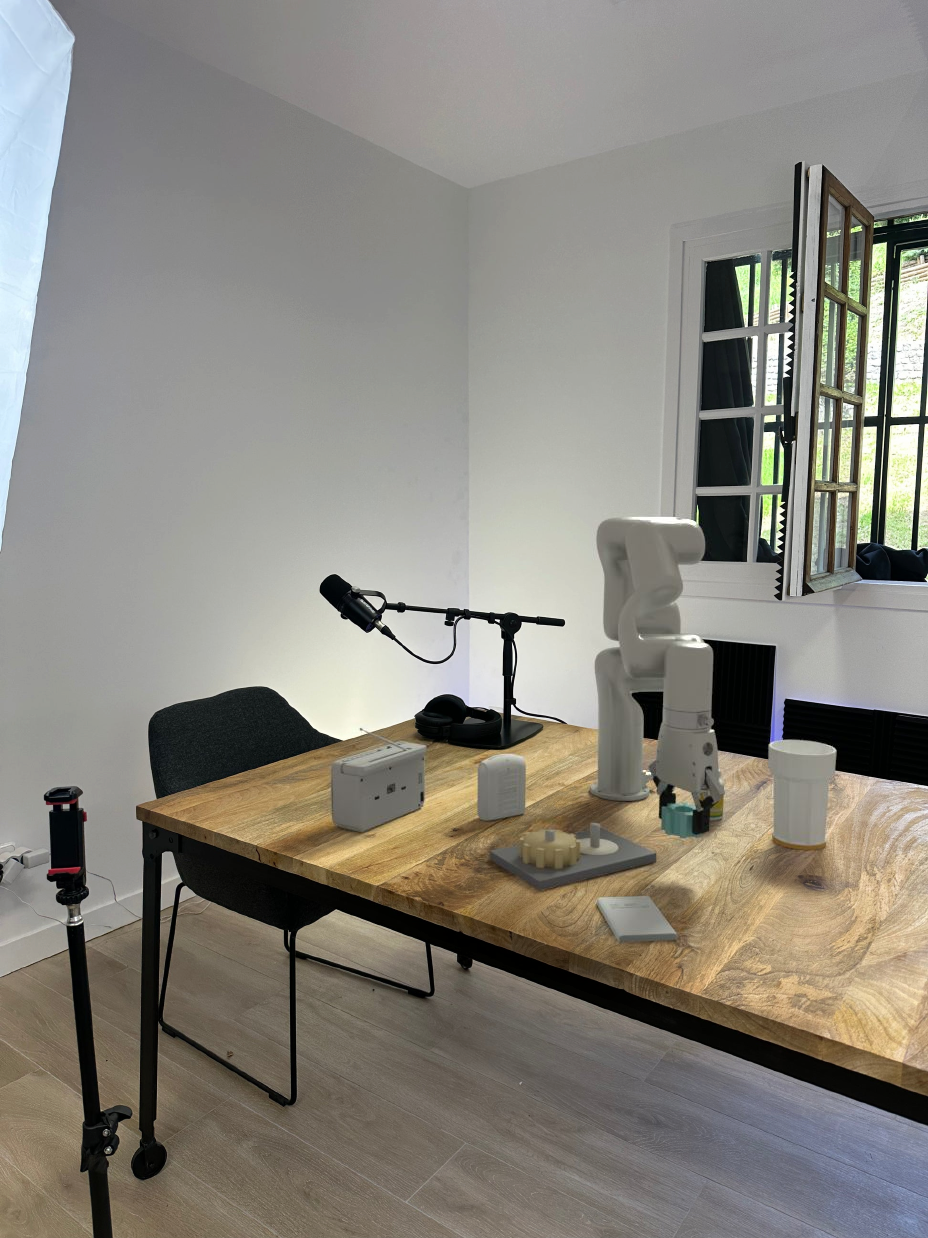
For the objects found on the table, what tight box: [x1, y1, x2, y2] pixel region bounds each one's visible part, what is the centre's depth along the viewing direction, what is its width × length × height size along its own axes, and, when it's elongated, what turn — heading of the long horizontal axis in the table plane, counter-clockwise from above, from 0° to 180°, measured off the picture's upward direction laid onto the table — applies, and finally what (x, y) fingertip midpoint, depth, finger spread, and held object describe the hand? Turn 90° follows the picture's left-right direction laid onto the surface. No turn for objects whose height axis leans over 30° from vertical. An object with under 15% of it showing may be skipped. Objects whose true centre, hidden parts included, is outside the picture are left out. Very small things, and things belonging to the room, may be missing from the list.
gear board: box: [489, 822, 657, 891], centre depth 145 cm, size 24×15×6 cm, turn 120°
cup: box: [768, 739, 837, 851], centre depth 153 cm, size 11×11×17 cm
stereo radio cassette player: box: [330, 727, 428, 834], centre depth 167 cm, size 21×8×20 cm, turn 145°
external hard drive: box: [596, 895, 678, 944], centre depth 122 cm, size 2×8×12 cm
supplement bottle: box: [700, 767, 725, 822], centre depth 167 cm, size 5×5×10 cm
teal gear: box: [660, 801, 707, 839], centre depth 139 cm, size 7×7×4 cm
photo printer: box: [476, 753, 527, 822], centre depth 168 cm, size 10×4×12 cm, turn 123°
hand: (683, 824), depth 139 cm, fingers closed on teal gear, 7 cm apart
